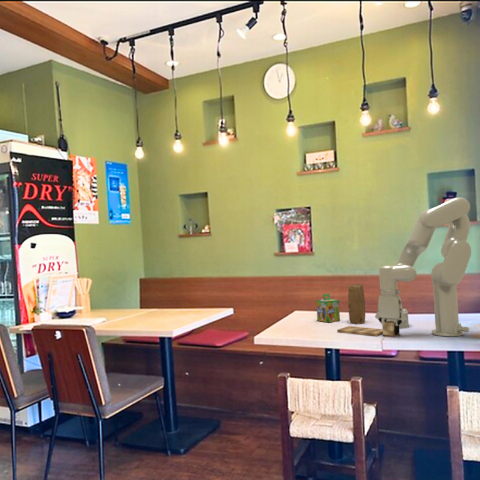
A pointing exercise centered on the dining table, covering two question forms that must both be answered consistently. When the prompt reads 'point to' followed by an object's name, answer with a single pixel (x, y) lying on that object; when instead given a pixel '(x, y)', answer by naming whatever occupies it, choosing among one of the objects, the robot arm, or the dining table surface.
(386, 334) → the block
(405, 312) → the lumpy-topped squat cylinder
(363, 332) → the board
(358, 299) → the block
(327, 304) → the chalk box
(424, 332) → the dining table surface
